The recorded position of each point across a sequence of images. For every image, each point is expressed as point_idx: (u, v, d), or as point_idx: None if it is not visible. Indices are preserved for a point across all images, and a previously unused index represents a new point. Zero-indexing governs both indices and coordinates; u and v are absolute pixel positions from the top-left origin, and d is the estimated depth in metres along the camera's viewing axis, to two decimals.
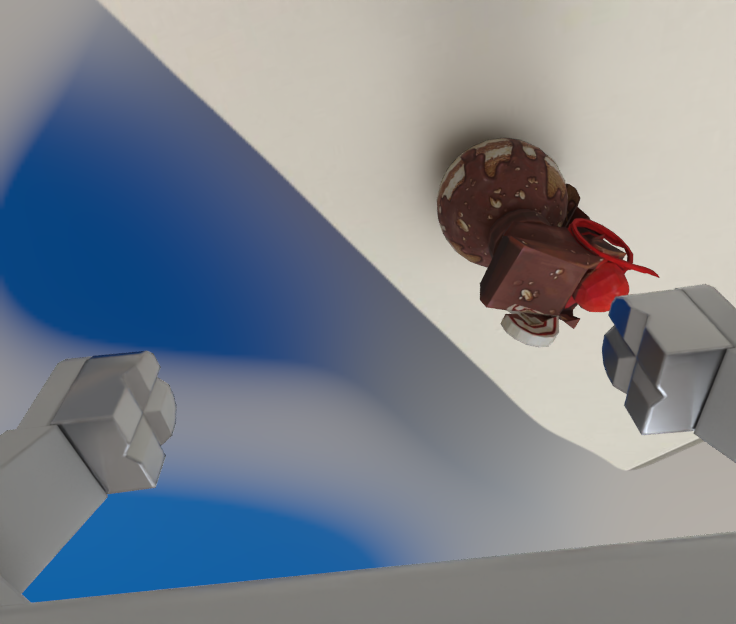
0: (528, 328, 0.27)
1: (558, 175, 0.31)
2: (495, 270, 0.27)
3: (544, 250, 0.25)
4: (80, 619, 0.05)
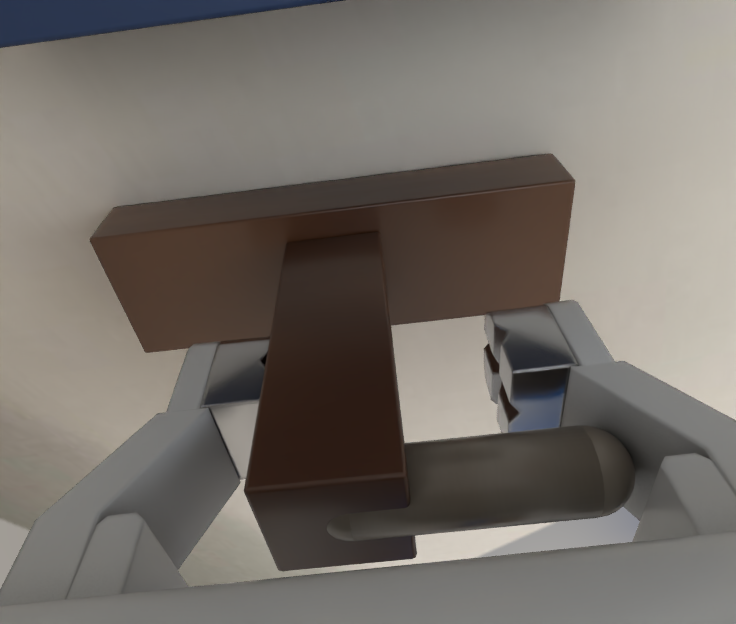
0: None
1: None
2: None
3: None
4: (80, 619, 0.05)
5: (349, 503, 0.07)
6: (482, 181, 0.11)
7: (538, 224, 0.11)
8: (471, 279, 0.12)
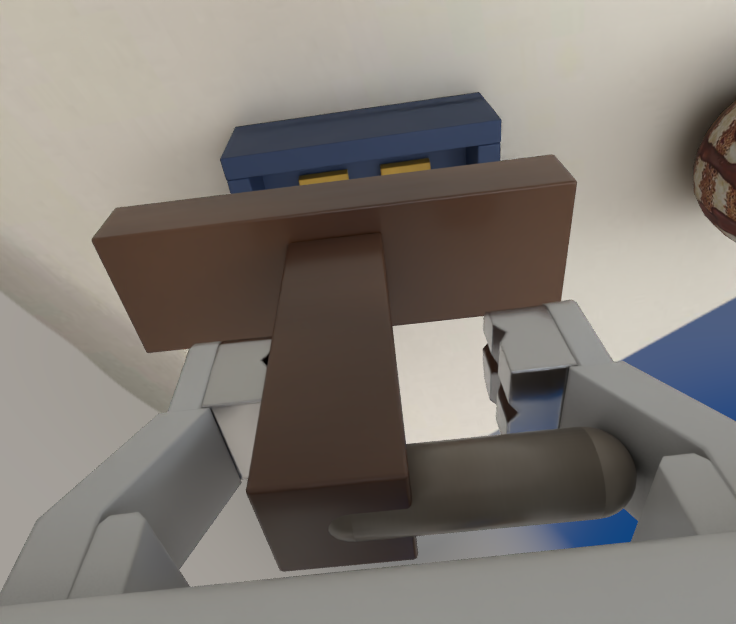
0: None
1: None
2: None
3: None
4: (80, 619, 0.05)
5: (351, 504, 0.07)
6: (483, 182, 0.11)
7: (540, 225, 0.11)
8: (472, 280, 0.12)
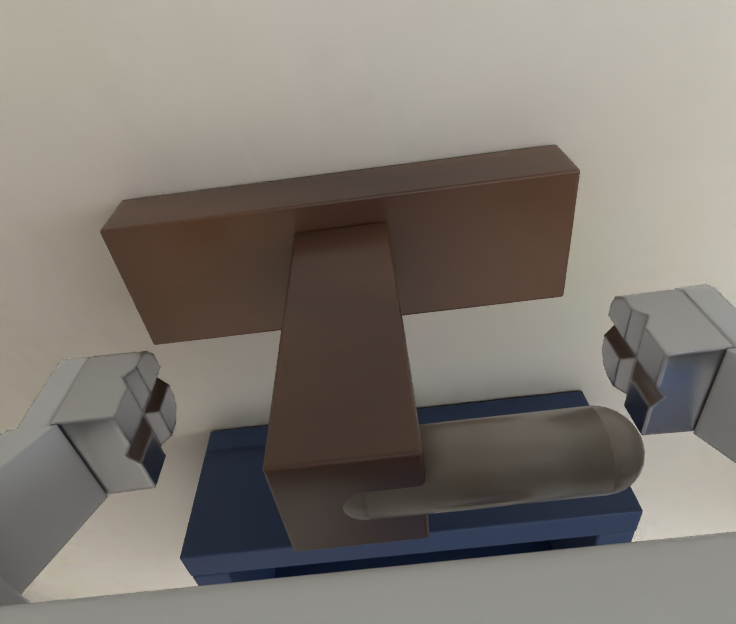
0: None
1: None
2: None
3: None
4: (80, 619, 0.05)
5: (365, 481, 0.07)
6: (487, 172, 0.11)
7: (543, 214, 0.11)
8: (477, 269, 0.12)
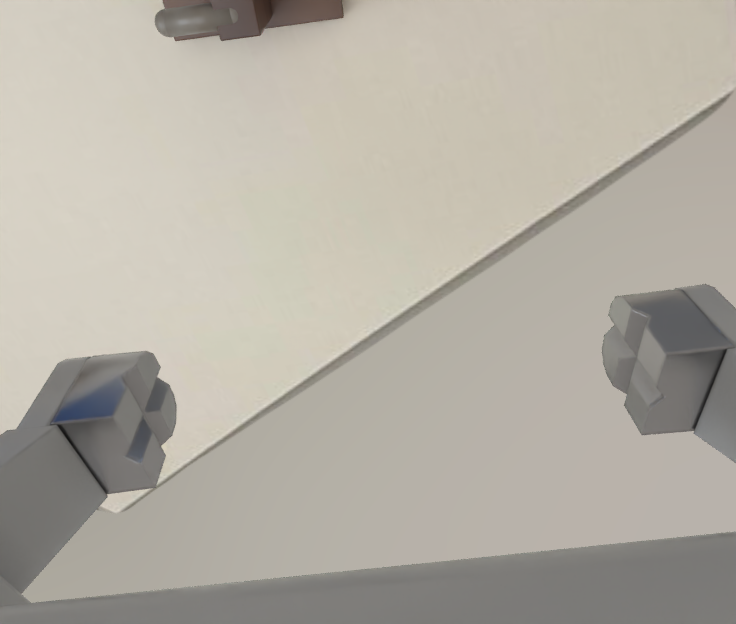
0: None
1: None
2: None
3: None
4: (80, 619, 0.05)
5: (233, 29, 0.25)
6: (206, 35, 0.31)
7: None
8: None
